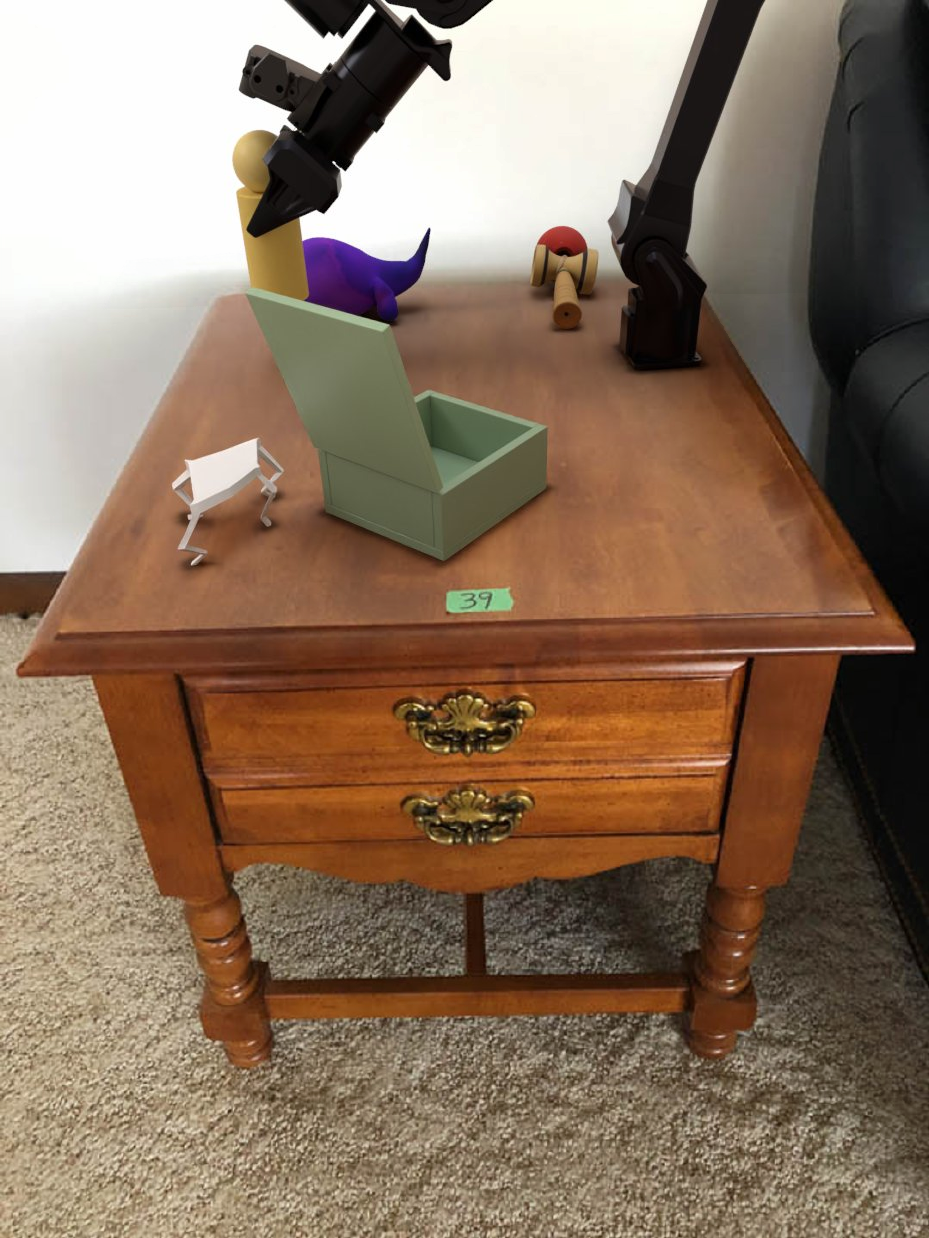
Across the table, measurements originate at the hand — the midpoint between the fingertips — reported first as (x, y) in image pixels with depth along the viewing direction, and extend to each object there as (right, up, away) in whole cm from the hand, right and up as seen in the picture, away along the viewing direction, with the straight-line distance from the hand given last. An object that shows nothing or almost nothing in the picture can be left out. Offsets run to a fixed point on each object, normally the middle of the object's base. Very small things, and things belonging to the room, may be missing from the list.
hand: (255, 224), depth 92 cm
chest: (+17, -26, -13) cm, 34 cm away
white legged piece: (+1, -29, -16) cm, 33 cm away
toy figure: (+2, -5, +4) cm, 7 cm away
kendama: (+30, 0, +21) cm, 36 cm away
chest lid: (+11, -20, -25) cm, 34 cm away
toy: (+8, -2, +19) cm, 21 cm away
